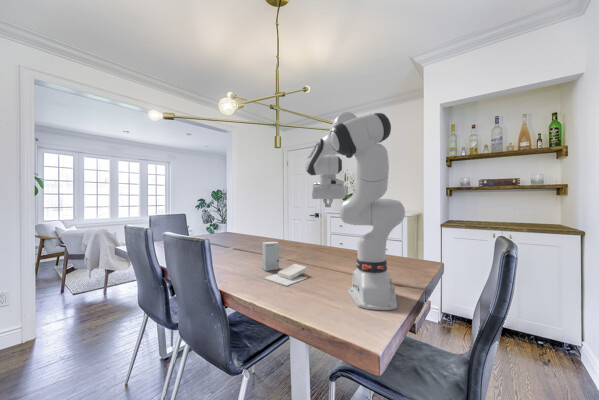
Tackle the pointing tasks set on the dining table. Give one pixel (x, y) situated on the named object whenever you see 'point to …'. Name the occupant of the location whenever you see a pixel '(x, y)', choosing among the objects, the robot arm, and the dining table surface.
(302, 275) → the rail
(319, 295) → the dining table surface
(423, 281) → the dining table surface
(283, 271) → the tile
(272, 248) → the skincare box
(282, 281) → the mat
